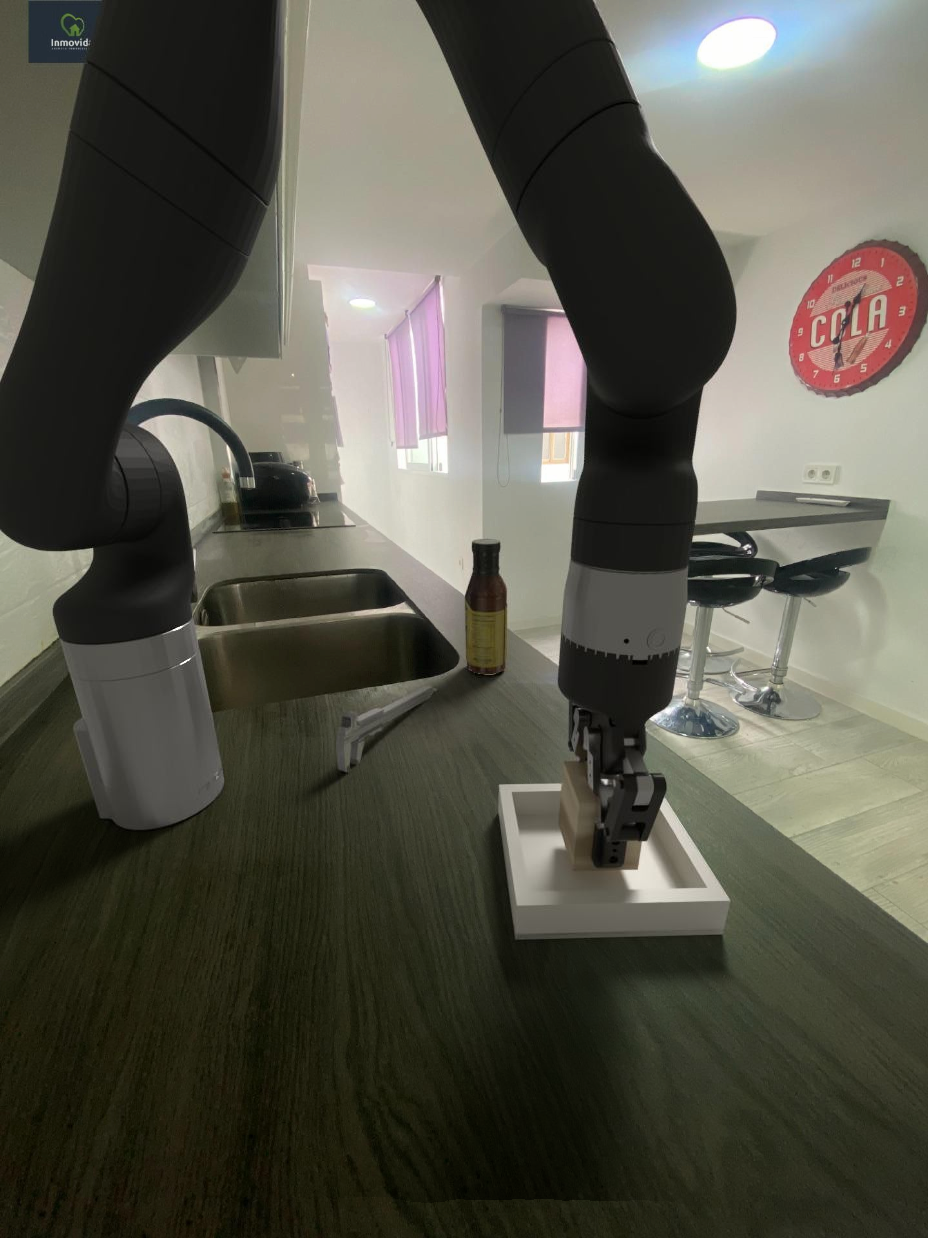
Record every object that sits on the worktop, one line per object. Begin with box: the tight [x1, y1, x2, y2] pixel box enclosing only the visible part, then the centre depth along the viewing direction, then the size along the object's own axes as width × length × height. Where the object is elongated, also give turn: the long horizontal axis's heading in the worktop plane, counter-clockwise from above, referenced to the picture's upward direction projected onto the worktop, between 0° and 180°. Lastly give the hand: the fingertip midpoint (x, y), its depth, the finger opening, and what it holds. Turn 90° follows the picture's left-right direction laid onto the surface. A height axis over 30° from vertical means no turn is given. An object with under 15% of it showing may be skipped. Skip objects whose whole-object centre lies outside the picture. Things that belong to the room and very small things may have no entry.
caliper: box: [335, 685, 437, 774], centre depth 56 cm, size 20×1×6 cm, turn 156°
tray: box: [497, 782, 731, 941], centre depth 37 cm, size 14×12×3 cm
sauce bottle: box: [464, 538, 508, 674], centre depth 69 cm, size 7×6×20 cm
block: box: [558, 760, 642, 871], centre depth 36 cm, size 5×5×6 cm
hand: (596, 835), depth 36 cm, fingers closed on block, 4 cm apart
